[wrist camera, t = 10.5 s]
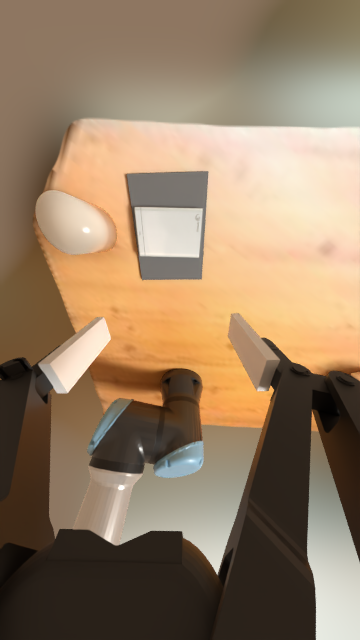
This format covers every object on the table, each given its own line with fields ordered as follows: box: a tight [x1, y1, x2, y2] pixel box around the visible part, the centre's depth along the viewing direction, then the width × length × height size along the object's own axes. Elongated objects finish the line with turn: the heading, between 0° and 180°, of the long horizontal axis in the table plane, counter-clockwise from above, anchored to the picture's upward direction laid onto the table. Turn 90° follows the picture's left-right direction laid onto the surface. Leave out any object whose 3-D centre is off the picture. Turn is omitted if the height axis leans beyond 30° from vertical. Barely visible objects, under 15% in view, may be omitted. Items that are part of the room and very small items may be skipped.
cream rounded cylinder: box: [35, 190, 117, 255], centre depth 25 cm, size 8×8×9 cm
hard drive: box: [135, 207, 203, 258], centre depth 27 cm, size 2×8×12 cm
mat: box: [127, 171, 208, 280], centre depth 28 cm, size 18×14×1 cm
